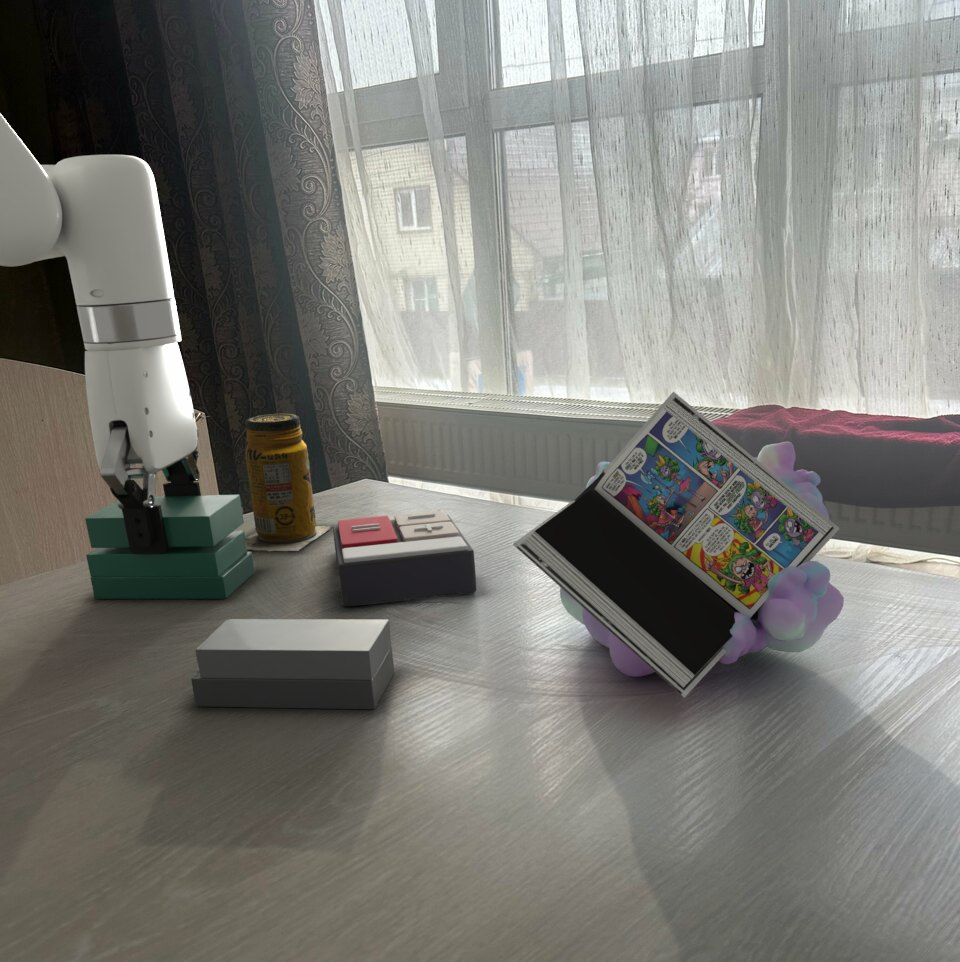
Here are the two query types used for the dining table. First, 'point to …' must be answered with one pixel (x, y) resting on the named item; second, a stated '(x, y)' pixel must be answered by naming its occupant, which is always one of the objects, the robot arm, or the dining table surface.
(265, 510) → the condiment
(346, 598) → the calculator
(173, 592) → the green books
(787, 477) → the comic strip frame
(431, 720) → the dining table surface
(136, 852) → the dining table surface
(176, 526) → the slim green book
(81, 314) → the robot arm
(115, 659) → the dining table surface
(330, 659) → the grey books
